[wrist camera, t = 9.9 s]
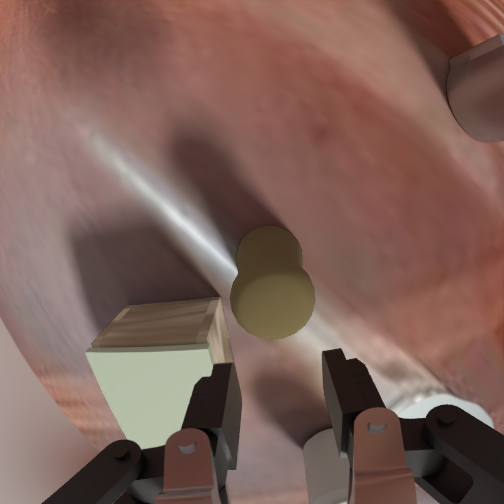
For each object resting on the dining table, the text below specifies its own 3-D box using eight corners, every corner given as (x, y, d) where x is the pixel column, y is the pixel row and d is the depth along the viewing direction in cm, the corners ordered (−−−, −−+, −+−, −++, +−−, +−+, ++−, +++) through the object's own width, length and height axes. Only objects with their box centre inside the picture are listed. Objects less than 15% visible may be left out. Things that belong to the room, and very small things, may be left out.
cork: (309, 280, 28) (335, 340, 17) (246, 297, 29) (238, 364, 18) (293, 217, 27) (314, 244, 16) (227, 235, 27) (205, 274, 17)
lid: (89, 347, 21) (85, 352, 21) (209, 343, 21) (207, 348, 20) (136, 445, 24) (134, 450, 23) (238, 449, 23) (238, 455, 23)
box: (127, 305, 29) (90, 343, 21) (220, 296, 29) (206, 338, 21) (158, 395, 32) (138, 442, 24) (241, 393, 31) (236, 445, 24)
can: (290, 443, 33) (296, 518, 22) (337, 415, 32) (358, 492, 20) (323, 463, 35) (334, 530, 23) (367, 437, 33) (389, 505, 22)
